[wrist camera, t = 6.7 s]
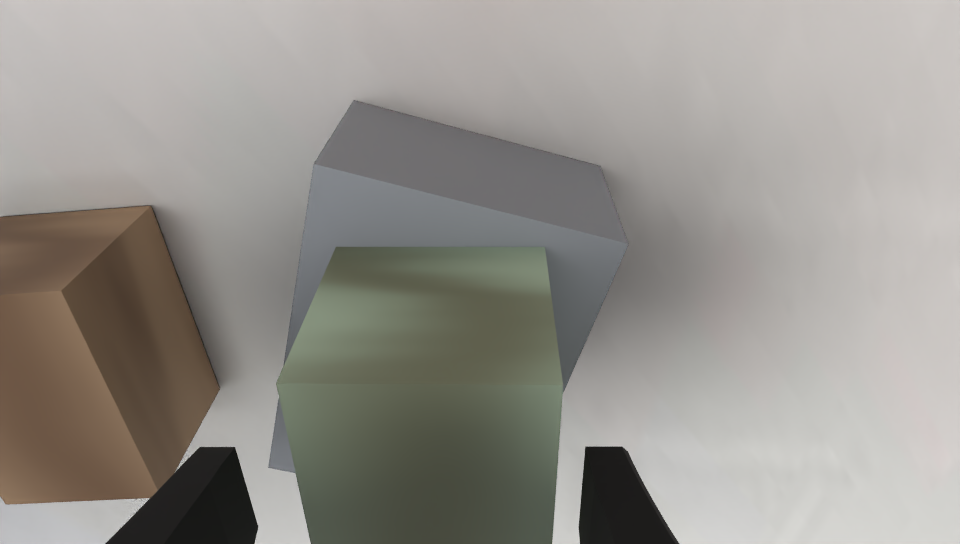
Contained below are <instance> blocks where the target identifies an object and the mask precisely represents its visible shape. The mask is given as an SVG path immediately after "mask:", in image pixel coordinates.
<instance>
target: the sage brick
mask: <svg viewBox="0 0 960 544" xmlns="http://www.w3.org/2000/svg"><path fill="white" fill-rule="evenodd" d="M276 385H277V389H278V394H279V399H280V403H281V408H282V412H283V417H284V422H285V426H286V431H287V435H288V440H289V445H290V449H291V454H292V459H293V463H294V468H295V472H296V477H297V482H298V486H299V491H300V496H301V500H302V505H303V509H304V514H305V519H306V523H307V528H308V532H309V537H310V542H311V544H552V537H553V522H554V508H555V494H556V479H557V465H558V450H559V436H560V421H561V407H562V393H563V381H562V374H561V366H560V358H559V351H558V343H557V335H556V328H555V320H554V313H553V305H552V297H551V290H550V282H549V274H548V267H547V259H546V252H545V247H336V248H335V250H334V252H333V255H332V257H331V259H330V261H329V264H328V266H327V268H326V271H325V273H324V275H323V277H322V280H321V282H320V284H319V287H318V289H317V291H316V294H315V296H314V298H313V300H312V303H311V305H310V307H309V310H308V312H307V314H306V316H305V319H304V321H303V323H302V326H301V328H300V330H299V332H298V335H297V337H296V339H295V342H294V344H293V346H292V348H291V351H290V353H289V355H288V358H287V360H286V362H285V364H284V367H283V369H282V371H281V374H280V376H279V378H278V380H277V383H276Z"/></svg>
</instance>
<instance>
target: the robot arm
mask: <svg viewBox="0 0 960 544" xmlns="http://www.w3.org/2000/svg"><path fill="white" fill-rule="evenodd" d="M257 530H258V525H257V521H256V518H255V514H254V511H253V508H252V504H251V501H250V497H249V494H248V490H247V487H246V484H245V480H244V477H243V473H242V470H241V466H240V463H239V459H238V456H237V453H236V449H235V447H200V448H199V449H198V450H197V451H196V452H195V453H194V454H193V455H192V456H191V457H190V458H189V459H188V460H187V461H186V462H185V463H184V464H183V465H182V466H181V467H180V468H179V469H178V470H177V471H176V472H175V473H174V474H173V475H172V476H171V477H170V478H169V479H168V480H167V481H166V482H165V483H164V484H163V485H162V486H161V488H160V489H159V490H158V491H157V492H156V493H155V494H154V495H153V496H152V497H151V498H150V499H149V500H148V501H147V502H146V503H145V504H144V505H143V506H142V507H141V508H140V509H139V510H138V511H137V512H136V513H135V514H134V516H133V517H132V518H131V519H130V520H129V521H128V522H127V523H126V524H125V525H124V526H123V527H122V528H121V529H120V530H119V531H118V532H117V533H116V534H115V535H114V536H113V537H112V538H111V539H110V540H109V541H108V542H107V543H106V544H254V543H255V538H256V534H257ZM579 536H580V544H679V543H678V541H677V540H676V538H675V537H674V535H673V533H672V532H671V530H670V529H669V527H668V525H667V524H666V522H665V520H664V519H663V517H662V515H661V514H660V512H659V510H658V508H657V507H656V505H655V503H654V501H653V500H652V498H651V496H650V494H649V493H648V491H647V489H646V487H645V485H644V483H643V482H642V480H641V478H640V476H639V474H638V472H637V470H636V468H635V466H634V464H633V462H632V460H631V458H630V455H629V453H628V452H627V451H626V450H625V449H624V448H623V447H585V459H584V471H583V483H582V495H581V507H580V519H579Z"/></svg>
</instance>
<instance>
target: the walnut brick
mask: <svg viewBox="0 0 960 544" xmlns="http://www.w3.org/2000/svg"><path fill="white" fill-rule="evenodd" d="M219 390H220V389H219V386H218V383H217V381H216V378H215V375H214V373H213V370H212V367H211V365H210V362H209V359H208V357H207V354H206V351H205V349H204V346H203V343H202V341H201V338H200V335H199V333H198V330H197V327H196V325H195V322H194V319H193V317H192V314H191V311H190V309H189V306H188V303H187V301H186V298H185V295H184V293H183V290H182V287H181V285H180V282H179V279H178V277H177V274H176V271H175V269H174V266H173V263H172V260H171V258H170V255H169V252H168V250H167V247H166V244H165V242H164V239H163V236H162V234H161V231H160V228H159V226H158V223H157V220H156V218H155V215H154V212H153V210H152V207H151V206H141V207H128V208H114V209H101V210H87V211H74V212H61V213H47V214H34V215H21V216H7V217H0V496H1V498H2V499H3V501H4V502H5V504H27V503H49V502H71V501H92V500H114V499H136V498H151V497H152V496H153V495H154V494H155V493H156V492H157V491H158V490H159V489H160V488H161V486H162V485H163V484H164V483H165V482H166V481H167V480H168V479H169V478H170V477H171V476H172V475H173V474H174V473H175V471H176V469H177V467H178V465H179V463H180V462H181V460H182V458H183V456H184V454H185V452H186V451H187V449H188V447H189V445H190V443H191V441H192V439H193V438H194V436H195V434H196V432H197V430H198V428H199V427H200V425H201V423H202V421H203V419H204V417H205V416H206V414H207V412H208V410H209V408H210V406H211V404H212V403H213V401H214V399H215V397H216V395H217V393H218V392H219Z"/></svg>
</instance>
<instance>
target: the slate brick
mask: <svg viewBox="0 0 960 544" xmlns="http://www.w3.org/2000/svg"><path fill="white" fill-rule="evenodd" d="M628 244H629V243H628V241H627V238H626V235H625V232H624V230H623V227H622V224H621V222H620V219H619V216H618V213H617V211H616V208H615V205H614V202H613V200H612V197H611V194H610V192H609V189H608V186H607V183H606V181H605V178H604V175H603V172H602V170H601V167H600V166H598V165H594V164H590V163H587V162H583V161H579V160H575V159H572V158H568V157H564V156H560V155H557V154H553V153H549V152H546V151H542V150H538V149H534V148H531V147H527V146H523V145H519V144H516V143H512V142H508V141H504V140H501V139H497V138H493V137H489V136H486V135H482V134H478V133H475V132H471V131H467V130H463V129H460V128H456V127H452V126H448V125H445V124H441V123H437V122H433V121H430V120H426V119H422V118H418V117H415V116H411V115H407V114H404V113H400V112H396V111H392V110H389V109H385V108H381V107H377V106H374V105H370V104H366V103H362V102H359V101H355V100H354V101H353V102H352V104H351V106H350V107H349V109H348V110H347V112H346V113H345V115H344V117H343V118H342V120H341V121H340V123H339V125H338V126H337V128H336V129H335V131H334V133H333V134H332V136H331V137H330V139H329V140H328V142H327V144H326V145H325V147H324V148H323V150H322V152H321V153H320V155H319V156H318V158H317V160H316V161H315V163H314V166H313V172H312V179H311V186H310V192H309V199H308V206H307V212H306V219H305V226H304V232H303V239H302V246H301V252H300V259H299V266H298V273H297V279H296V286H295V293H294V299H293V306H292V313H291V319H290V326H289V333H288V339H287V346H286V353H285V360H284V364H285V362H286V360H287V358H288V355H289V353H290V351H291V348H292V346H293V344H294V342H295V339H296V337H297V335H298V332H299V330H300V328H301V326H302V323H303V321H304V319H305V316H306V314H307V312H308V310H309V307H310V305H311V303H312V300H313V298H314V296H315V294H316V291H317V289H318V287H319V284H320V282H321V280H322V277H323V275H324V273H325V271H326V268H327V266H328V264H329V261H330V259H331V257H332V255H333V252H334V250H335V248H336V247H545V252H546V259H547V267H548V274H549V282H550V290H551V297H552V305H553V313H554V320H555V328H556V335H557V343H558V351H559V358H560V366H561V374H562V381H563V392H564V390H565V387H566V385H567V383H568V381H569V378H570V376H571V374H572V372H573V369H574V367H575V365H576V362H577V360H578V358H579V356H580V353H581V351H582V349H583V347H584V344H585V342H586V340H587V337H588V335H589V333H590V331H591V328H592V326H593V324H594V322H595V319H596V317H597V315H598V312H599V310H600V308H601V306H602V303H603V301H604V299H605V297H606V294H607V292H608V290H609V287H610V285H611V283H612V281H613V278H614V276H615V274H616V272H617V269H618V267H619V265H620V262H621V260H622V258H623V256H624V253H625V251H626V249H627V247H628ZM283 367H284V366H283ZM562 394H563V393H562ZM268 468H272V469H277V470H282V471H288V472H293V473H296V472H295V468H294V463H293V459H292V454H291V449H290V445H289V440H288V435H287V431H286V426H285V422H284V417H283V412H282V408H281V403H280V399H279V400H278V406H277V413H276V420H275V426H274V433H273V440H272V446H271V453H270V460H269V467H268Z"/></svg>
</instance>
